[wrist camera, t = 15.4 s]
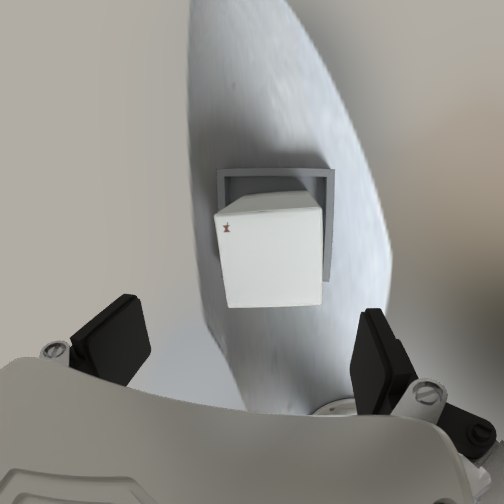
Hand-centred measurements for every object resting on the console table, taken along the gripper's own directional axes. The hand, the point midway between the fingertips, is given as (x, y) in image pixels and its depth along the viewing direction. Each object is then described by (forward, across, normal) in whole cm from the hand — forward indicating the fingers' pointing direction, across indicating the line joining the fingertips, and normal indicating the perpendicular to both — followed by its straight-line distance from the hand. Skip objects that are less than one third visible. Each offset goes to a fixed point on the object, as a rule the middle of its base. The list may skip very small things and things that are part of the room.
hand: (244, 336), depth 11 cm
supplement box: (+21, 0, 0) cm, 21 cm away
